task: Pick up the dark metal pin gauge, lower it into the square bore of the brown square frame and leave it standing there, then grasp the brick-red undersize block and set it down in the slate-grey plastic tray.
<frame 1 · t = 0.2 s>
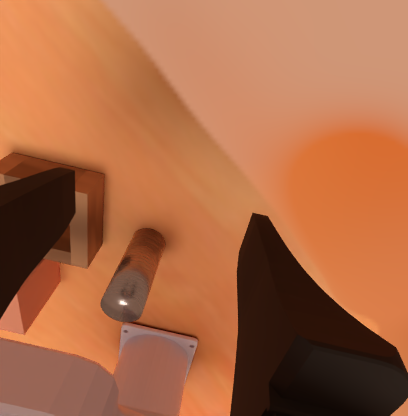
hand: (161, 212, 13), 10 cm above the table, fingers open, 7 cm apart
pin gauge: (148, 241, 27), on the table
undersize block: (32, 256, 29), on the table
brown square frame: (60, 202, 26), on the table
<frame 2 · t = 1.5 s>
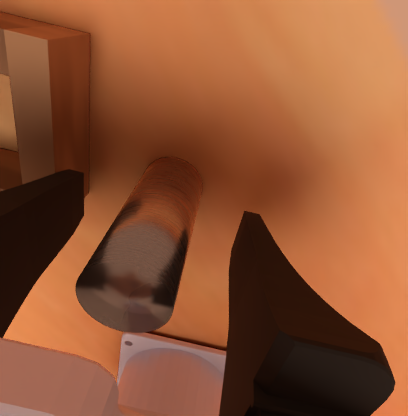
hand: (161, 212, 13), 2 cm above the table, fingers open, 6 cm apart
pin gauge: (172, 185, 15), on the table
brown square frame: (9, 105, 14), on the table
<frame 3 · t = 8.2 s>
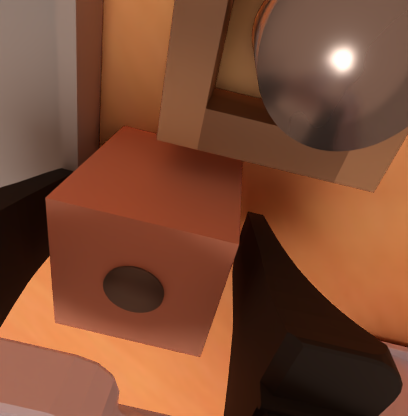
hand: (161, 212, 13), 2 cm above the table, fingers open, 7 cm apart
pin gauge: (294, 33, 11), resting in brown square frame
undersize block: (174, 191, 14), on the table
brown square frame: (293, 35, 11), on the table
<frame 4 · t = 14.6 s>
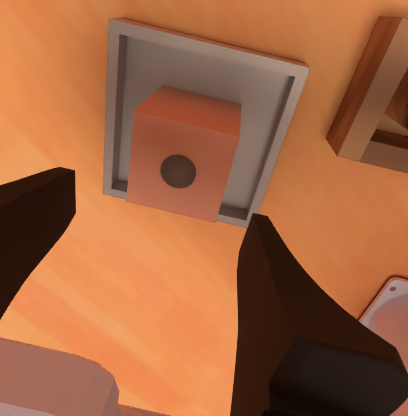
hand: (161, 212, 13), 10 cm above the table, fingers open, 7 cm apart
pin gauge: (407, 96, 19), resting in brown square frame
tray: (195, 129, 21), on the table
undersize block: (194, 132, 21), point 1 cm above the table, touching tray
brown square frame: (406, 97, 19), on the table
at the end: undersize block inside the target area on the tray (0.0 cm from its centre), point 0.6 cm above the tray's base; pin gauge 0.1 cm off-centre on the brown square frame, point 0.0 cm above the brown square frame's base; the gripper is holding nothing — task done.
